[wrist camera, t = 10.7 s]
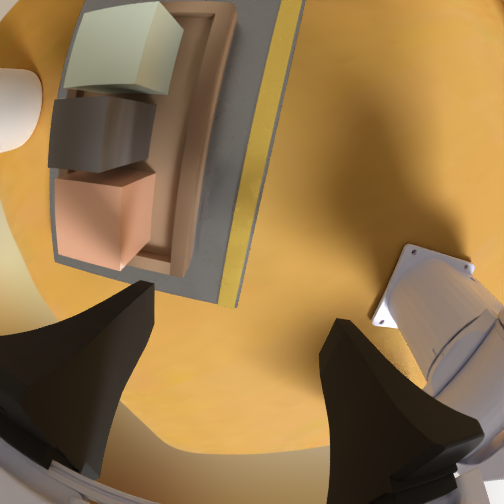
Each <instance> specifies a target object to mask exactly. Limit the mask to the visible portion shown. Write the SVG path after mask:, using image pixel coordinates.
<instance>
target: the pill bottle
mask: <svg viewBox="0 0 504 504" xmlns="http://www.w3.org/2000/svg"><path fill="white" fill-rule="evenodd" d="M41 107H42V86H41V82H40V80H39V78H38V76H37V75H36V74H35V73H34V72H32V71H29V70H25V69H10V68H0V153H2V152H6V151H10V150H13V149H16V148H18V147H20V146H22V145H23V144H24V143H25V142H26V141H27V140H28V139H29V138H30V136H31V135H32V133H33V131H34V129H35V127H36V125H37V122H38V119H39V116H40V112H41Z"/></svg>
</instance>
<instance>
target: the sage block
mask: <svg viewBox="0 0 504 504" xmlns="http://www.w3.org/2000/svg"><path fill="white" fill-rule="evenodd" d="M183 31H184V30H183V28H182V27H181V26H180V25H179V24H178V22H177V21H176V20H175V19H174V18H173V17H172V15H171V14H170V13H169V12H168V11H167V10H166V9H165V7H164V6H163V5H162V4H161V3H160V2H159V1H156V2H145V3H136V4H129V5H122V6H116V7H111V8H105V9H100V10H96V11H91V12H87V13H84V15H83V18H82V21H81V24H80V27H79V30H78V33H77V36H76V39H75V42H74V46H73V49H72V53H71V56H70V60H69V64H68V68H67V73H66V77H65V82H64V87H63V88H67V89H76V90H83V91H90V92H97V93H103V94H159V95H168V91H169V86H170V81H171V77H172V73H173V68H174V64H175V60H176V56H177V53H178V49H179V45H180V42H181V38H182V35H183Z"/></svg>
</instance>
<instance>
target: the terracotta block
mask: <svg viewBox="0 0 504 504" xmlns="http://www.w3.org/2000/svg"><path fill="white" fill-rule="evenodd" d="M155 176H156V173H152V172H145V171H137V170H130V169H122V168H114V169H110V170H107V171H104V172H101V173H97V172H88V171H77V172H74V173H70V174H67V175H64V176H61V177H58V178H55V219H56V234H57V245H58V254H60V255H63V256H66V257H70V258H73V259H77V260H80V261H84V262H88V263H91V264H95V265H98V266H102V267H106V268H110V269H114V270H117V271H121V270H122V269H123V268H124V267H125V266H126V265H127V264H128V262H129V261H130V260H131V259H132V258H133V257H134V256H135V255H136V254H137V253H138V252H139V251H140V250H141V249H142V248H143V247H144V246H145V245H146V244H147V243H148V241H149V240H150V232H151V218H152V205H153V195H154V185H155Z"/></svg>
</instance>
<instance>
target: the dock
mask: <svg viewBox="0 0 504 504" xmlns="http://www.w3.org/2000/svg"><path fill="white" fill-rule="evenodd" d="M156 1H159V2H171V1H213V2H229V3H235V6H236V11H237V15H238V17H237V26H236V29H235V33H234V37H233V40H232V44H231V48H230V52H229V56H228V60H227V64H226V68H225V72H224V77H223V81H222V85H221V90H220V94H219V99H218V103H217V108H216V113H215V118H214V123H213V128H212V133H211V138H210V143H209V149H208V154H207V160H206V165H205V171H204V177H203V183H202V190H201V196H200V203H199V209H198V216H197V223H196V231H195V238H194V246H193V254H192V258H191V260H190V265H189V267H188V269H187V271H186V273H185V275H184V277H183V278H180V277H176V276H171V275H167V274H162V273H158V272H154V271H150V270H145V269H141V268H137V267H133V266H129V265H126V266H125V267H124V268H123V269H122V270H121V271H117V270H114V269H110V268H106V267H102V266H98V265H95V264H91V263H88V262H84V261H80V260H77V259H73V258H70V257H66V256H63V255H60V254H58V245H57V234H56V219H55V178H58V175H59V169H57V168H50V214H51V230H52V241H53V251H54V259H55V262H57V263H60V264H63V265H66V266H70V267H73V268H76V269H80V270H83V271H86V272H90V273H93V274H97V275H100V276H104V277H107V278H111V279H115V280H118V281H122V282H126V283H129V284H134V283H136V282H137V281H139V280H143V281H147V282H151V283H155V290H157V291H161V292H165V293H170V294H174V295H178V296H183V297H187V298H191V299H196V300H201V301H205V302H210V303H215V304H218V305H217V306H221V307H226V308H231V309H234V308H237V306H238V301H239V296H240V292H241V287H242V283H243V278H244V274H245V269H246V265H247V260H248V255H249V251H250V246H251V242H252V237H253V233H254V228H255V224H256V219H257V215H258V210H259V206H260V201H261V197H262V192H263V187H264V183H265V178H266V174H267V169H268V165H269V160H270V156H271V152H272V147H273V143H274V138H275V134H276V129H277V125H278V120H279V116H280V111H281V107H282V102H283V98H284V93H285V89H286V85H287V80H288V76H289V71H290V67H291V62H292V58H293V54H294V49H295V45H296V40H297V36H298V31H299V27H300V23H301V18H302V14H303V9H304V5H305V1H306V0H85V3H84V5H83V8H82V10H81V13H80V15H79V18H78V21H77V24H76V26H75V29H74V32H73V36H72V39H71V42H70V45H69V49H68V52H67V56H66V60H65V64H64V68H63V72H62V77H61V81H60V86H59V91H58V97H57V99H66V96H67V91H68V89H67V88H63V87H64V82H65V77H66V73H67V68H68V64H69V60H70V56H71V53H72V49H73V46H74V42H75V39H76V36H77V33H78V30H79V27H80V24H81V21H82V18H83V15H84V13H87V12H91V11H96V10H100V9H105V8H111V7H116V6H122V5H129V4H136V3H145V2H156Z"/></svg>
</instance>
